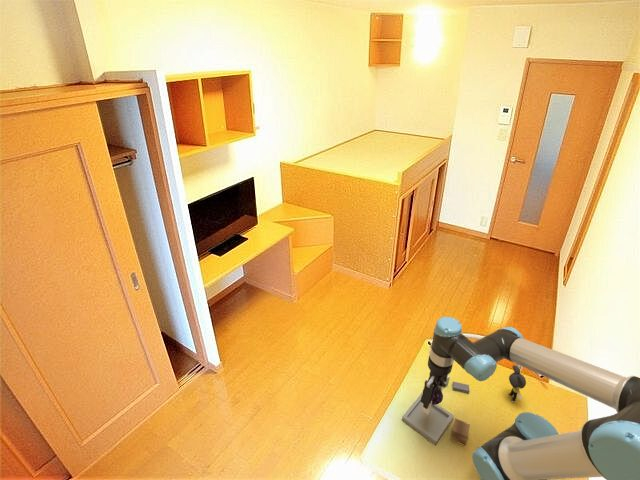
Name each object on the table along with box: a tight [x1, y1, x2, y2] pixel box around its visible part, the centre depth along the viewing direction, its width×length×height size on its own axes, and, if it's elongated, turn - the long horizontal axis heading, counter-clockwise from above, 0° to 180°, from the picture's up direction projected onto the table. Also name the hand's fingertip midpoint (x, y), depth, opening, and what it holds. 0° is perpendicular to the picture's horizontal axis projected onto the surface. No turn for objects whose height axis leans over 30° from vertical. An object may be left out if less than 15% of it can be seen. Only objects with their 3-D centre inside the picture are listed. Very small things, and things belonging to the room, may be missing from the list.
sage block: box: [442, 374, 451, 389], centre depth 141 cm, size 4×4×5 cm
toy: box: [508, 364, 527, 403], centre depth 132 cm, size 8×5×15 cm, turn 179°
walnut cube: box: [449, 418, 471, 446], centre depth 122 cm, size 5×5×5 cm
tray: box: [401, 393, 455, 446], centre depth 128 cm, size 13×13×2 cm
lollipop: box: [421, 387, 444, 417], centre depth 124 cm, size 7×7×15 cm
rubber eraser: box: [451, 380, 470, 395], centre depth 139 cm, size 6×3×2 cm, turn 73°
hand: (430, 404), depth 124 cm, fingers closed on lollipop, 7 cm apart
